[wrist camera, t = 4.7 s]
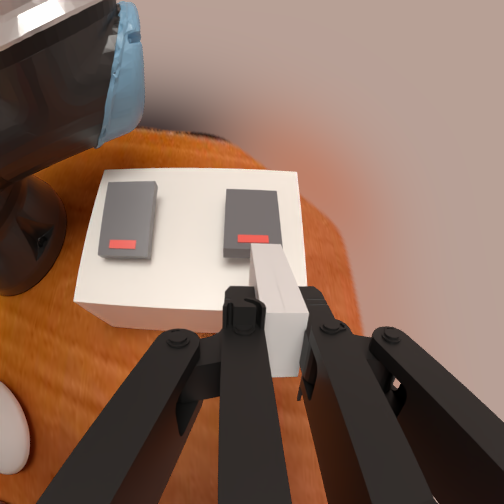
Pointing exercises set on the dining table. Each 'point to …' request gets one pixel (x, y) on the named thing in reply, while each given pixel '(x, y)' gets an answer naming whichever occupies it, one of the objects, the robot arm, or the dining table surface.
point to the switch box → (182, 250)
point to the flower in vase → (12, 433)
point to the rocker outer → (250, 221)
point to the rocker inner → (128, 220)
